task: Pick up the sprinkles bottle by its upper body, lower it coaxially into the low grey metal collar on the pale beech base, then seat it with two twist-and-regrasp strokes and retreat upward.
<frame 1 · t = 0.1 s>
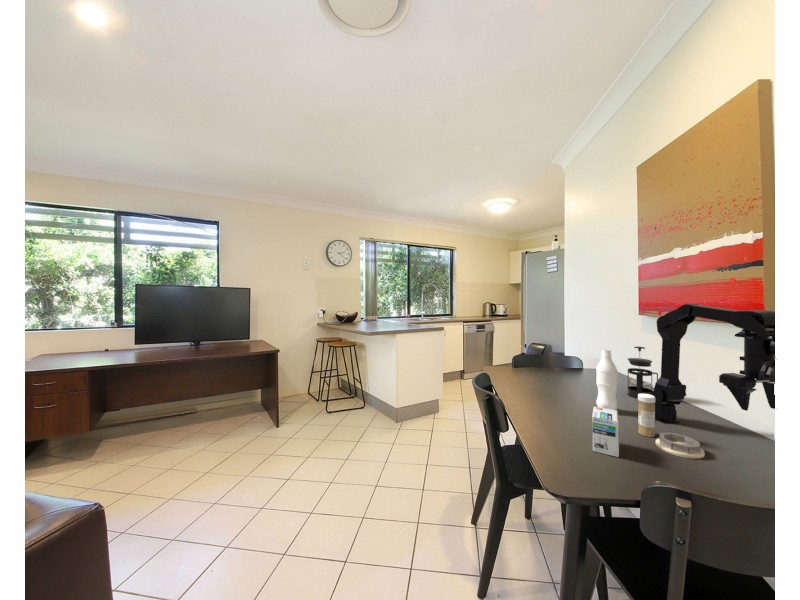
hand: (759, 409, 86), 15 cm above the table, fingers open, 9 cm apart
water bottle: (606, 410, 124), on the table
light bulb box: (605, 447, 95), on the table
collar socket: (679, 449, 93), on the table
french press: (641, 396, 139), on the table
sprinkles bottle: (646, 434, 103), on the table
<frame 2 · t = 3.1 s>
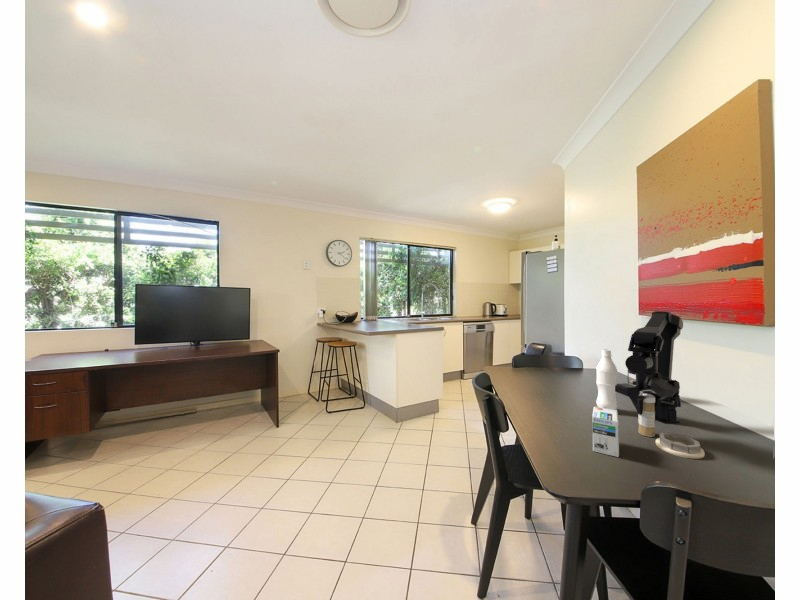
hand: (646, 413, 102), 7 cm above the table, fingers closed on sprinkles bottle, 4 cm apart
sprinkles bottle: (646, 434, 103), on the table, touching gripper
everything else where it was.
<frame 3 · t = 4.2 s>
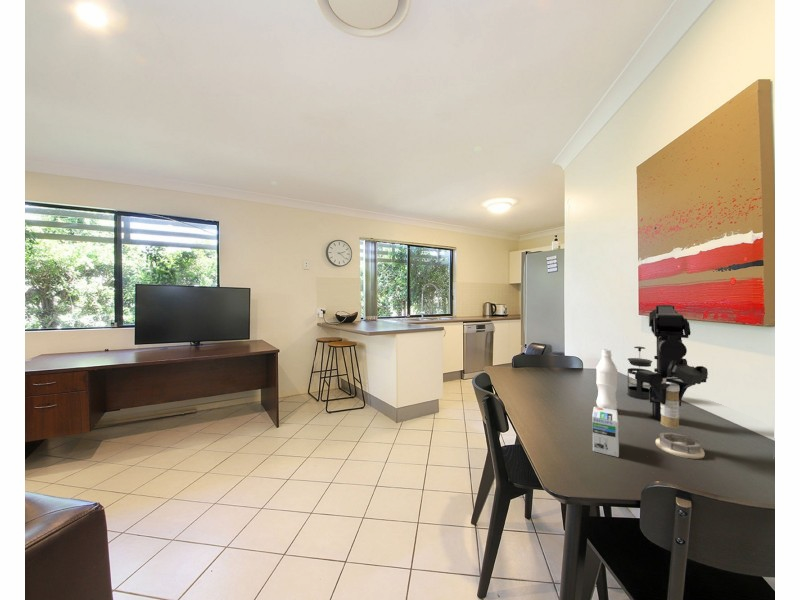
hand: (669, 403, 95), 13 cm above the table, fingers closed on sprinkles bottle, 4 cm apart
sprinkles bottle: (669, 426, 95), point 6 cm above the table, touching gripper
everything else where it was.
when the fingers open (9 cm above the table, at t = 5.8 s): sprinkles bottle stays where it is, resting on collar socket.
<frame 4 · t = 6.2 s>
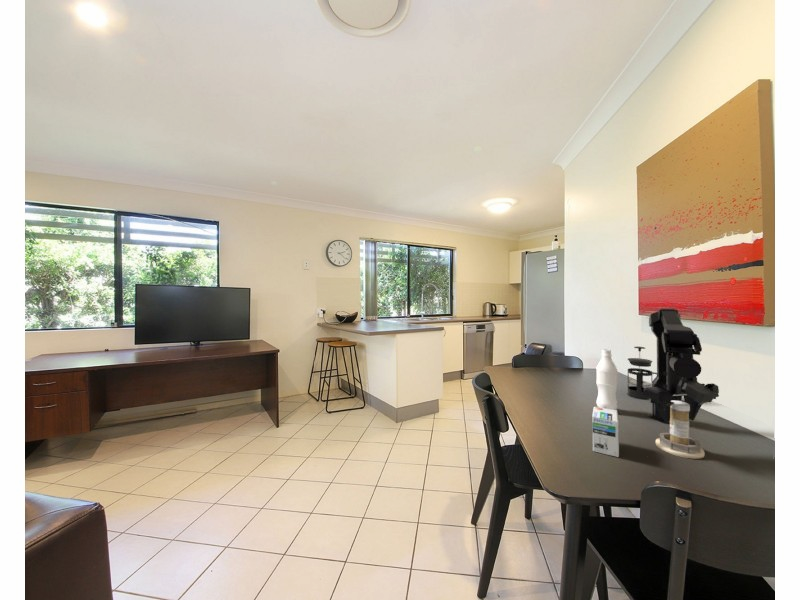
hand: (679, 420, 93), 9 cm above the table, fingers open, 8 cm apart
sprinkles bottle: (679, 446, 93), point 1 cm above the table, touching collar socket
everything else where it was.
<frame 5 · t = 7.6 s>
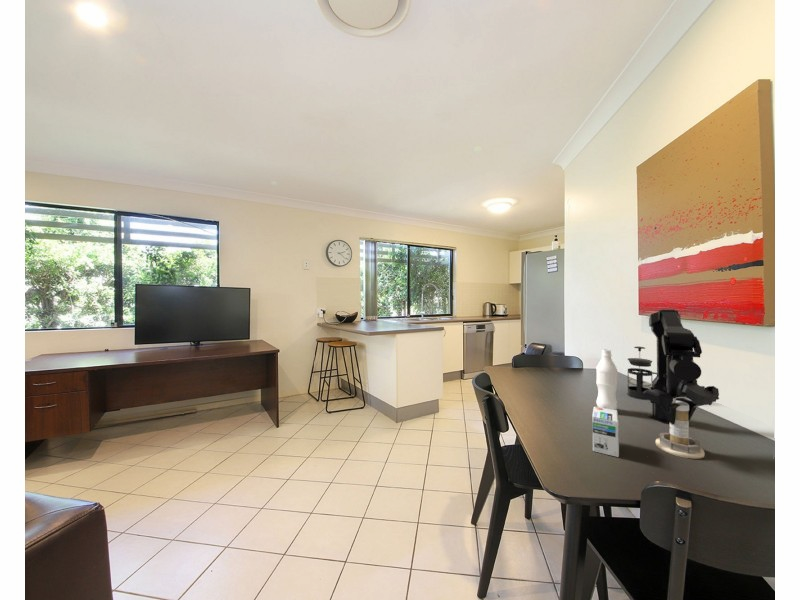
hand: (679, 423, 93), 8 cm above the table, fingers closed on sprinkles bottle, 4 cm apart
sprinkles bottle: (679, 446, 93), point 1 cm above the table, touching collar socket, gripper
everything else where it was.
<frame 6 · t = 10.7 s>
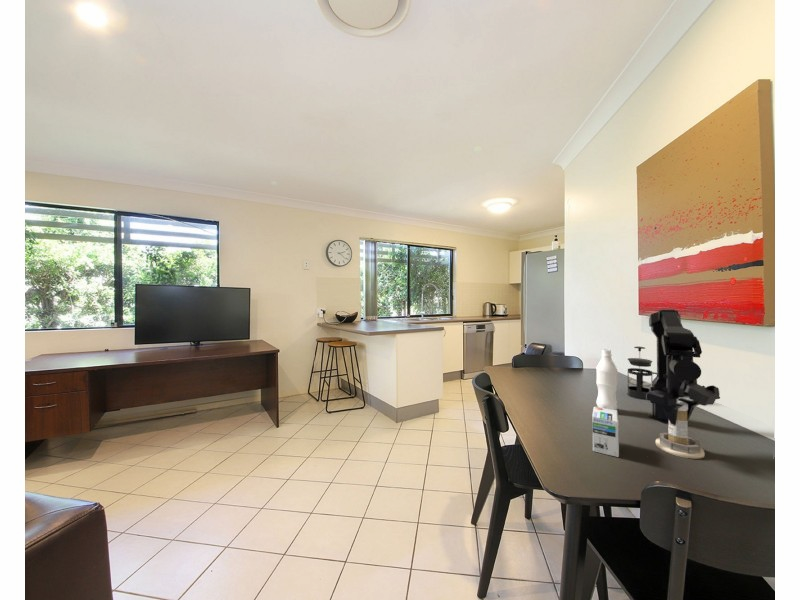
hand: (679, 423, 93), 8 cm above the table, fingers closed on sprinkles bottle, 4 cm apart
sprinkles bottle: (677, 445, 93), point 1 cm above the table, touching collar socket, gripper
everything else where it was.
when the fingers open (8 cm above the table, at t = 11.3 s): sprinkles bottle stays where it is, resting on collar socket.
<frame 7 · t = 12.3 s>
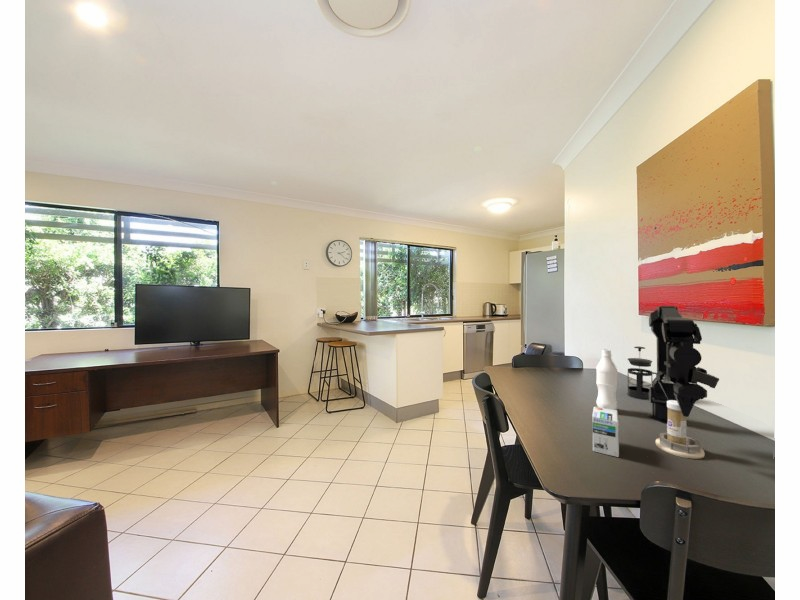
hand: (679, 410, 92), 12 cm above the table, fingers open, 9 cm apart
sprinkles bottle: (676, 446, 93), point 1 cm above the table, touching collar socket
everything else where it was.
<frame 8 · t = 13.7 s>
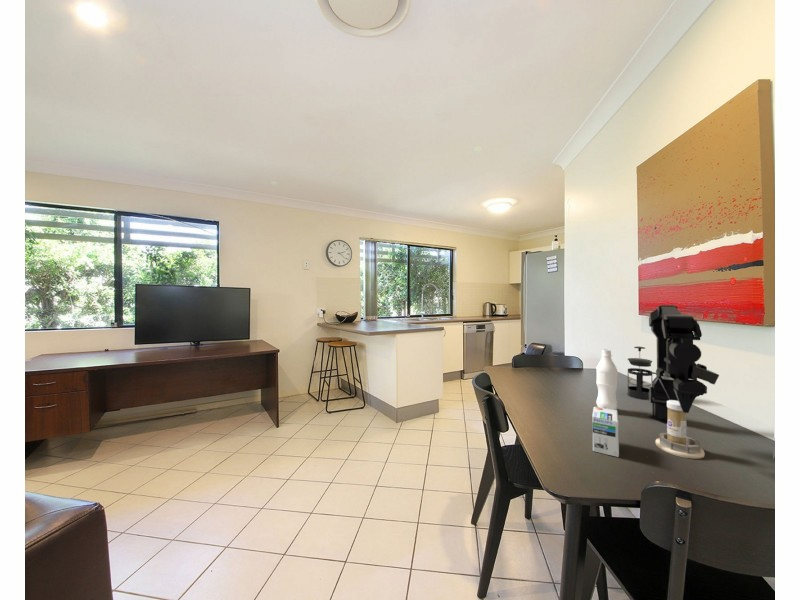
hand: (679, 407, 92), 13 cm above the table, fingers open, 9 cm apart
nothing on the table moved.
at the end: sprinkles bottle 0.5 cm from the collar socket (horizontally); sprinkles bottle point 0.8 cm above the table; sprinkles bottle tilted 0° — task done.
